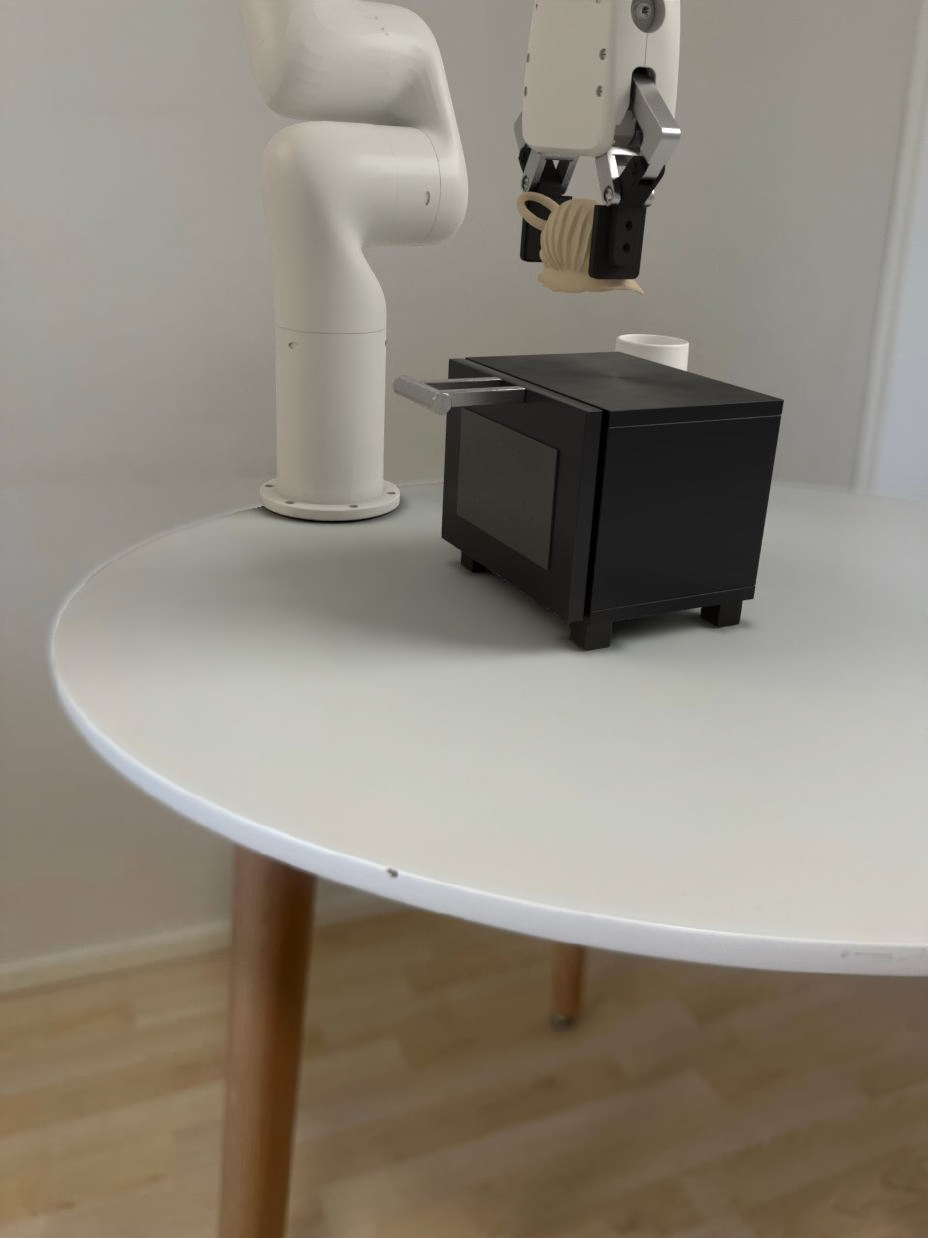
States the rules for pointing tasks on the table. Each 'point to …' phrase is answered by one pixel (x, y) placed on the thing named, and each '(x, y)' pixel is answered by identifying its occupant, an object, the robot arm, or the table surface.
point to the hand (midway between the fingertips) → (576, 267)
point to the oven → (664, 486)
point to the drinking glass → (655, 349)
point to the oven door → (516, 479)
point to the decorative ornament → (568, 246)
